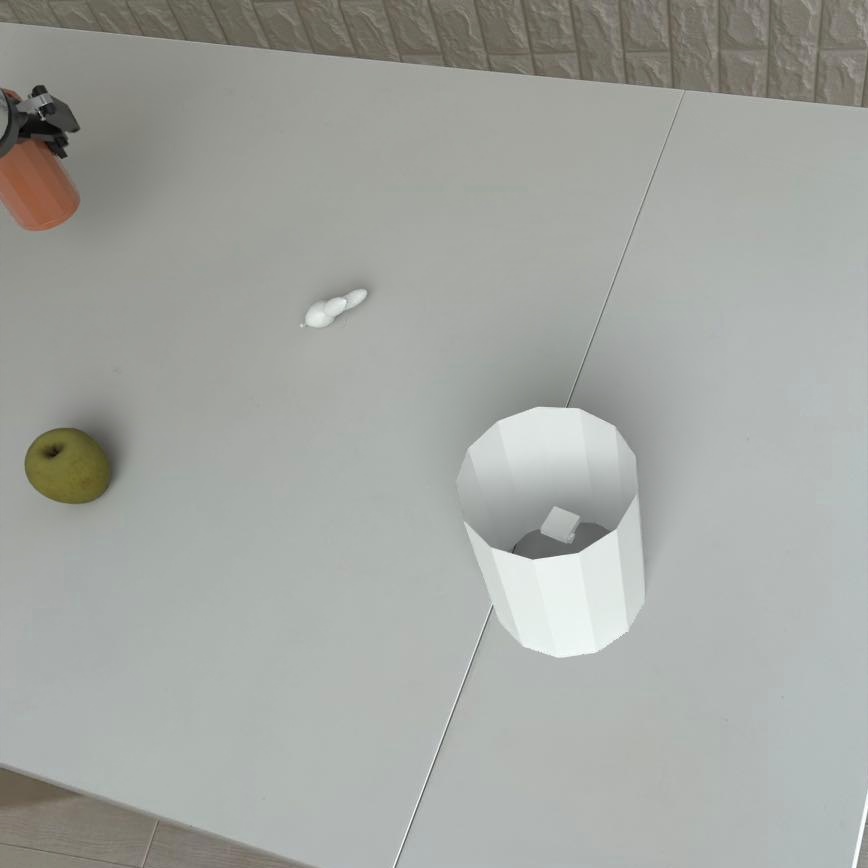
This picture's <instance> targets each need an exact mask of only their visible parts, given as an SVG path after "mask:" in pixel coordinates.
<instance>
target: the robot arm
mask: <svg viewBox="0 0 868 868" xmlns="http://www.w3.org/2000/svg"><path fill="white" fill-rule="evenodd" d="M1 88H2V87H0V158H2V157H4V156H5V155H6V154H7V153H8V152H9V151H10V150H11V149H12V147H13V146H14V144H22V143H23V142H25V141H27V140H36V141H46V142H47V143H48V145H49V147H50V148H51V149H52V150H53V151H54V152H55V153H56V155H57V156H58V158H59V159H60V160H64V159H66V158H68V157H69V156H68V153H67V151H66V150H65V148H67V147H68V146H69V145H70V143H69V142H68V140H69V137H68V135H67V134H66V133H68V134H76V133H78V132H79V131H80V130H81V126H80V125H79V122H78V121H77V119H76V117H75V115H74V113H73V111H72V109H71V108H70V106H69V105H68V104H67V103H65V102H64V101H62V100H60V99H59V98H57V97H55V96H53V95H51V94H50V93H49V91H48V89H47V88H46V86H45V85H44V84H38V85H37V84H36V85H35V86H34V87H33V88H32V89H31V93H28V94H27V95H26V96H27V99H25V100H23V101H22V102H21V101H20V100H19V99H17V98H12V97H9V96H8V95H7V94H6V93H5V92H4V91H3V90H2V89H1Z"/></svg>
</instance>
